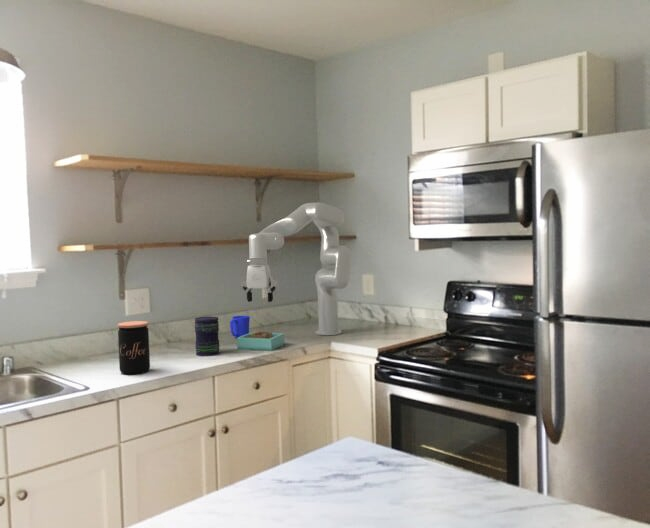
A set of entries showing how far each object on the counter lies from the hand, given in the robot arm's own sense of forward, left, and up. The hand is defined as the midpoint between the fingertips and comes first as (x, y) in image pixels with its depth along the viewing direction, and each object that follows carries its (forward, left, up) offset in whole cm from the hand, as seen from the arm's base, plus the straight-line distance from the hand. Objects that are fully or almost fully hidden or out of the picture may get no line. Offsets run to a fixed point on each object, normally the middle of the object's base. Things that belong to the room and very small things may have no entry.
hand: (259, 301), depth 264 cm
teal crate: (0, 0, -20) cm, 20 cm away
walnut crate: (0, 0, -19) cm, 19 cm away
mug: (-18, -20, -20) cm, 34 cm away
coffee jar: (+53, -26, -20) cm, 62 cm away
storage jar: (+18, -16, -20) cm, 31 cm away
